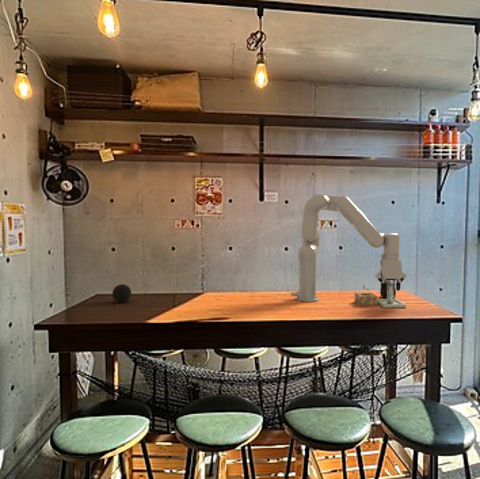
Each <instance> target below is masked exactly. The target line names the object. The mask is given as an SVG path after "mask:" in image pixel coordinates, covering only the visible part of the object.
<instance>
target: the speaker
mask: <svg viewBox="0 0 480 479" xmlns="http://www.w3.org/2000/svg"><path fill="white" fill-rule="evenodd" d="M131 296H132V289H131V288H130V286H128V285H127V284H118V285H116V286H115V287H114V288H113V289H112V298H113V300H114V301H116V302H117V303H126V302H127V301H129V300H130V299H131Z"/></svg>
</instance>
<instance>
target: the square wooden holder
mask: <svg viewBox="0 0 480 479" xmlns="http://www.w3.org/2000/svg"><path fill="white" fill-rule="evenodd" d="M377 299H378V296H377V295H375V294H374V293H372V292H354V303H355V304H357V305H358V306H360V307H361V306H363V307H365V306H366V307H368V306H369V307H370V306H371V307H372V306H374V307H377V306H378V304H377Z"/></svg>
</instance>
